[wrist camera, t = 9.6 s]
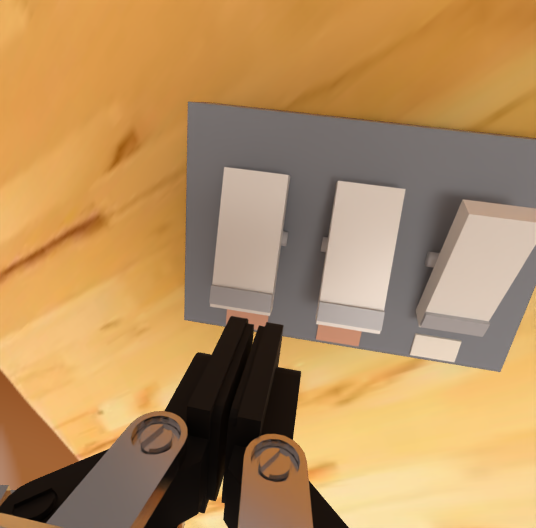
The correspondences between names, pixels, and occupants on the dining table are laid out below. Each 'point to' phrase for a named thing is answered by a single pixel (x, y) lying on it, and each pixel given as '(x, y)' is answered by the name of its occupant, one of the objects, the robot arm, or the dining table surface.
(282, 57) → the dining table surface
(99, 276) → the dining table surface
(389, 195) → the rocker
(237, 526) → the robot arm
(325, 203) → the switch unit
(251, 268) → the rocker
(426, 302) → the rocker
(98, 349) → the dining table surface
